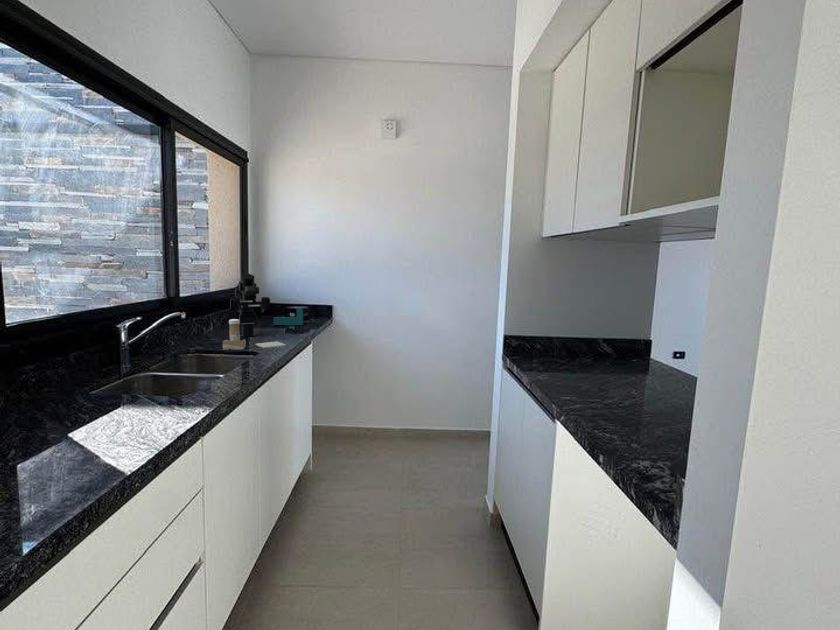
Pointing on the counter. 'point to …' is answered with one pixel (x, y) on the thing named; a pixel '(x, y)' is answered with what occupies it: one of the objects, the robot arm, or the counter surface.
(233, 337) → the sprinkles bottle
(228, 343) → the bottle stand
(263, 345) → the rubber mat
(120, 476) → the counter surface
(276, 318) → the teal l-shaped bracket
